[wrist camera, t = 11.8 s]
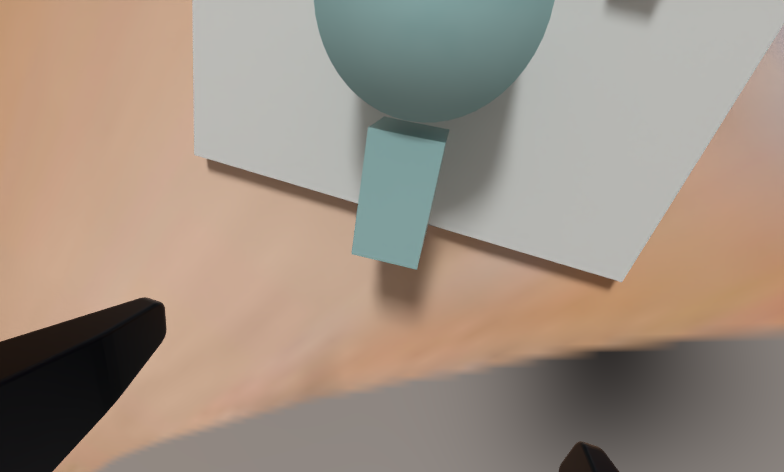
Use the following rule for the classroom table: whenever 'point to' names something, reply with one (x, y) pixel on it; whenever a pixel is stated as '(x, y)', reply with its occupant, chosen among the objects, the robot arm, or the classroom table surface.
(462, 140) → the board
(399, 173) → the teal dome with tabs
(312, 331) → the classroom table surface
